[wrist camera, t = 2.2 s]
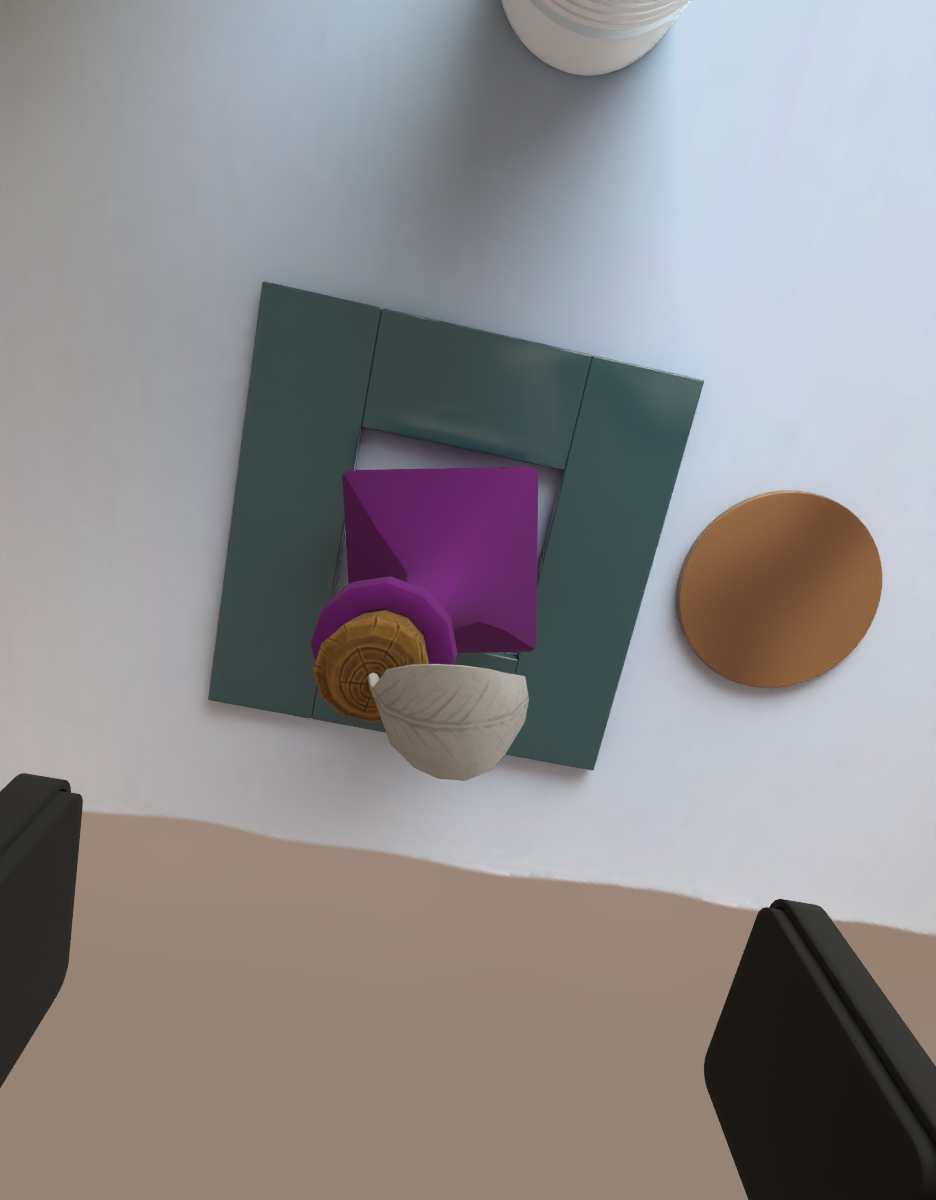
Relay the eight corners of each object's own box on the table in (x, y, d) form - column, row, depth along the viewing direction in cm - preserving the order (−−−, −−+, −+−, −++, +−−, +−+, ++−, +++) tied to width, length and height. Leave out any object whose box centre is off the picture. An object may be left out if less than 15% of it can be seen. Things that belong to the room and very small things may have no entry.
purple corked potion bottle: (361, 629, 35) (274, 881, 18) (352, 460, 33) (242, 561, 16) (528, 626, 35) (602, 873, 18) (530, 457, 33) (614, 554, 16)
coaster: (907, 513, 34) (912, 515, 34) (838, 700, 37) (842, 704, 36) (710, 471, 34) (713, 472, 33) (653, 664, 36) (655, 667, 36)
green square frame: (700, 380, 33) (704, 380, 32) (591, 764, 37) (593, 771, 37) (265, 282, 31) (262, 280, 31) (211, 695, 36) (207, 700, 35)
